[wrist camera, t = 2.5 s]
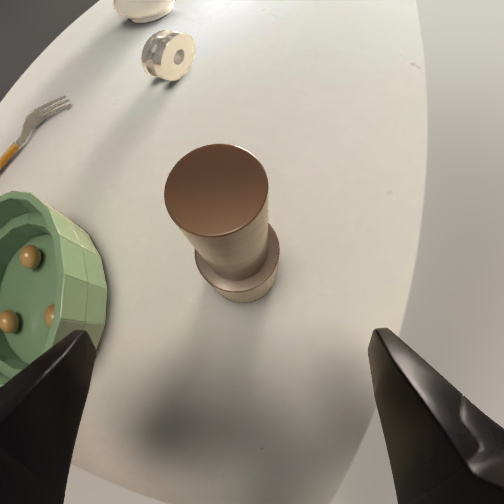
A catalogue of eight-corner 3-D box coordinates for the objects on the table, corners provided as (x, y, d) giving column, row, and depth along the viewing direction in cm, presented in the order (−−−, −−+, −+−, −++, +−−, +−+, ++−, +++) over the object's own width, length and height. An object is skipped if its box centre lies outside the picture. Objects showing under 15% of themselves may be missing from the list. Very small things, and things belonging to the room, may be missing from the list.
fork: (-46, 225, 22) (64, 94, 24) (-50, 214, 22) (58, 86, 24) (-33, 228, 24) (73, 105, 27) (-37, 217, 24) (67, 96, 26)
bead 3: (75, 330, 19) (59, 329, 17) (56, 332, 19) (40, 330, 17) (73, 304, 20) (57, 300, 18) (54, 306, 20) (38, 303, 18)
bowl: (123, 388, 19) (77, 401, 13) (0, 381, 19) (-46, 383, 13) (109, 203, 22) (71, 167, 17) (-3, 237, 23) (-43, 217, 17)
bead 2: (45, 269, 21) (30, 264, 19) (29, 273, 21) (14, 267, 19) (46, 246, 21) (31, 239, 19) (30, 250, 21) (16, 244, 19)
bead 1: (24, 334, 19) (8, 332, 17) (10, 334, 19) (-5, 333, 17) (22, 310, 20) (7, 307, 18) (9, 312, 20) (-6, 309, 18)
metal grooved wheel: (169, 90, 25) (154, 53, 21) (147, 84, 26) (131, 49, 21) (199, 60, 26) (190, 23, 22) (177, 55, 27) (166, 20, 22)
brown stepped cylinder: (281, 296, 20) (303, 243, 8) (215, 307, 20) (149, 269, 8) (270, 233, 21) (272, 119, 10) (207, 244, 21) (145, 144, 10)
